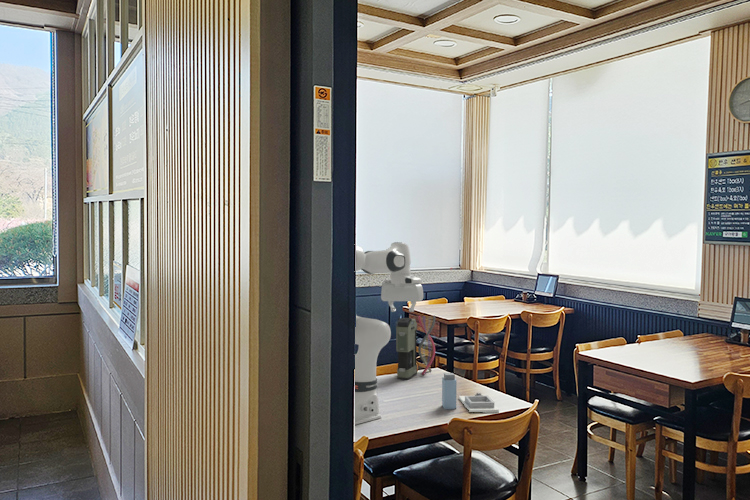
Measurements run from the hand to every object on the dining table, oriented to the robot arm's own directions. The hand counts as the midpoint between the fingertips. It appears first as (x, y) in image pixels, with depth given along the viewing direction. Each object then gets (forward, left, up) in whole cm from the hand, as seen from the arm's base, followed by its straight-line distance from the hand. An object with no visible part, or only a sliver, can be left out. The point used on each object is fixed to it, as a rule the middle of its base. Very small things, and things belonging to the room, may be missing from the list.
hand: (402, 311), depth 247 cm
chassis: (+16, -28, -39) cm, 51 cm away
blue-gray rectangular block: (+6, -20, -39) cm, 44 cm away
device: (+34, +24, -39) cm, 57 cm away
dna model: (+46, +20, -39) cm, 63 cm away
